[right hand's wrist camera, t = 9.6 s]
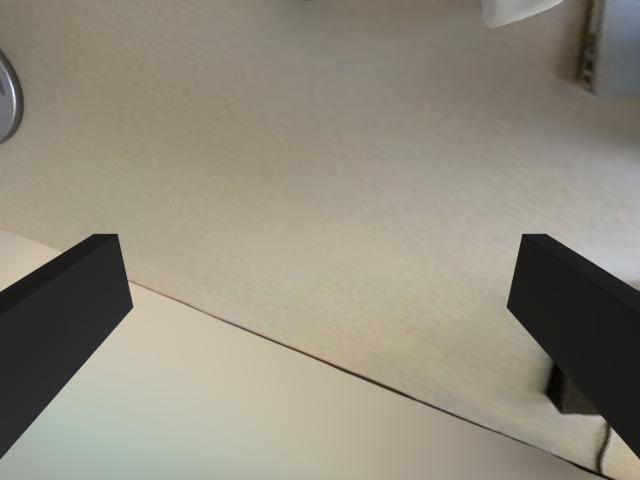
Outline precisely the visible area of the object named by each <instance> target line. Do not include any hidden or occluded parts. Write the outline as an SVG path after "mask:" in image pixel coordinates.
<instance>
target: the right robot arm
mask: <svg viewBox="0 0 640 480" xmlns="http://www.w3.org/2000/svg"><path fill="white" fill-rule="evenodd" d="M22 115H23V95H22V90H21V86H20V83H19V80H18V77H17V75H16V73H15V71H14V69H13V67H12V66H11V64H10V62H9V61H8V59H7V58H6V57H5V55H4V54H3V53H2V52H1V51H0V144H1V143H3V142H5V141H7V140H8V139H9V138H10V137H12V135H13V134H14V133H15V132H16V130H17V129H18V127H19V125H20V122H21V119H22ZM132 308H133V303H132V299H131V294H130V289H129V285H128V280H127V276H126V271H125V266H124V262H123V257H122V252H121V248H120V243H119V238H118V234H93V235H91V236H90V237H88V238H86V239H85V240H83V241H82V242H80V243H78V244H77V245H75V246H74V247H72V248H70V249H69V250H67V251H65V252H64V253H62V254H61V255H59V256H57V257H56V258H54V259H53V260H51V261H49V262H48V263H46V264H45V265H43V266H41V267H40V268H38V269H36V270H35V271H33V272H32V273H30V274H28V275H27V276H25V277H23V278H22V279H20V280H19V281H17V282H15V283H14V284H12V285H11V286H9V287H7V288H6V289H4V290H2V291H1V292H0V459H1V458H2V457H3V456H4V455H5V453H6V452H7V451H8V450H9V449H10V448H11V446H12V445H13V444H14V443H15V442H16V441H17V440H18V439H19V437H20V436H21V435H22V434H23V433H24V432H25V431H26V429H27V428H28V427H29V426H30V425H31V424H32V423H33V421H34V420H35V419H36V418H37V417H38V416H39V415H40V413H41V412H42V411H43V410H44V409H45V408H46V407H47V405H48V404H49V403H50V402H51V401H52V400H53V399H54V397H55V396H56V395H57V394H58V393H59V392H60V391H61V389H62V388H63V387H64V386H65V385H66V384H67V382H68V381H69V380H70V379H71V378H72V377H73V376H74V374H75V373H76V372H77V371H78V370H79V369H80V368H81V367H82V365H83V364H84V363H85V362H86V361H87V360H88V359H89V357H90V356H91V355H92V354H93V353H94V352H95V351H96V349H97V348H98V347H99V346H100V345H101V344H102V343H103V341H104V340H105V339H106V338H107V337H108V336H109V335H110V333H111V332H112V331H113V330H114V329H115V328H116V327H117V325H118V324H119V323H120V322H121V321H122V320H123V319H124V317H125V316H126V315H127V314H128V313H129V312H130V311H131V309H132ZM507 308H508V309H509V311H510V312H511V313H512V314H513V315H514V316H515V317H516V319H517V320H518V321H519V322H520V323H521V324H522V325H523V327H524V328H525V329H526V330H527V331H528V332H529V333H530V335H531V336H532V337H533V338H534V339H535V340H536V341H537V343H538V344H539V345H540V346H541V347H542V348H543V349H544V351H545V352H546V353H547V354H548V355H549V356H550V357H551V359H552V360H553V361H554V362H555V363H556V364H557V365H558V367H559V368H560V369H561V370H562V371H563V372H564V373H565V375H566V376H567V377H568V378H569V379H570V380H571V381H572V383H573V384H574V385H575V386H576V387H577V388H578V389H579V391H580V392H581V393H582V394H583V395H584V396H585V397H586V399H587V400H588V401H589V402H590V403H591V404H592V405H593V407H594V408H595V409H596V410H597V411H598V412H599V413H600V415H601V416H602V417H603V418H604V419H605V420H606V421H607V423H608V424H609V425H610V426H611V427H612V428H613V429H614V431H615V432H616V433H617V434H618V435H619V436H620V437H621V439H622V440H623V441H624V442H625V443H626V444H627V445H628V447H629V448H630V449H631V450H632V451H633V452H634V453H635V455H636V456H637V457H638V458H639V459H640V292H639V291H638V290H636V289H634V288H633V287H631V286H629V285H628V284H626V283H625V282H623V281H621V280H620V279H618V278H617V277H615V276H613V275H612V274H610V273H608V272H607V271H605V270H604V269H602V268H600V267H599V266H597V265H596V264H594V263H592V262H591V261H589V260H587V259H586V258H584V257H583V256H581V255H579V254H578V253H576V252H575V251H573V250H571V249H570V248H568V247H566V246H565V245H563V244H562V243H560V242H558V241H557V240H555V239H554V238H552V237H550V236H549V235H547V234H522V238H521V243H520V248H519V252H518V257H517V262H516V266H515V271H514V276H513V280H512V285H511V289H510V294H509V299H508V303H507Z"/></svg>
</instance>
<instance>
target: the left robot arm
mask: <svg viewBox="0 0 640 480" xmlns="http://www.w3.org/2000/svg"><path fill="white" fill-rule="evenodd" d="M561 1H564V0H481V3H482V22H483V23H484V24H485V25H486V26H488V27H490V28H495V27H500V26H503V25H507V24H510V23H513V22H516V21H519V20H522V19H525V18H528V17H530V16H533V15H535V14H538V13H540V12H543V11H545V10H547V9H550V8H552V7H554V6H555V5H557V4H559V3H560V2H561Z"/></svg>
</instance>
